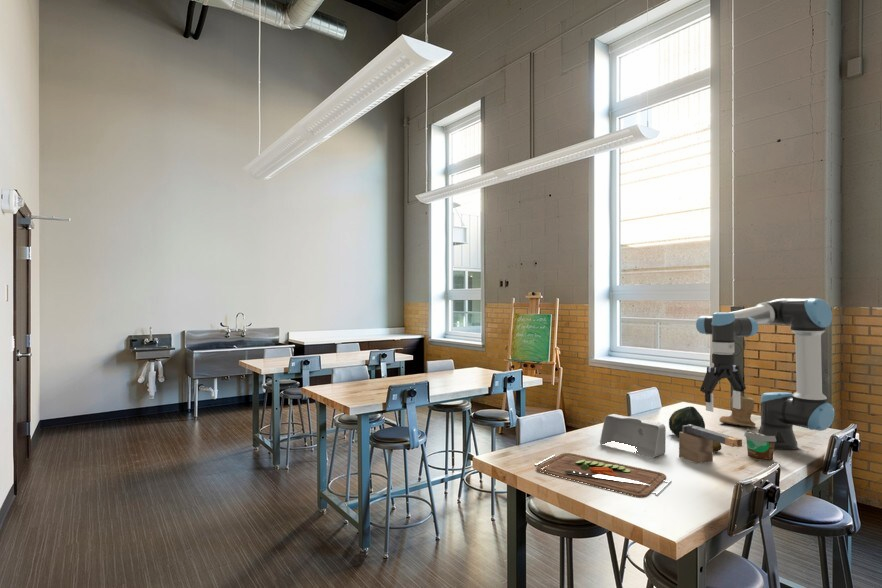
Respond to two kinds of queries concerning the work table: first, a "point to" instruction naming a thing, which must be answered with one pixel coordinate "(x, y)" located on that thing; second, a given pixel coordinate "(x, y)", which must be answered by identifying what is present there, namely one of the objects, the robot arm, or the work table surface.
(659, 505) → the work table surface
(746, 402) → the brown upright flared piece
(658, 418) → the work table surface
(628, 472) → the chopping board
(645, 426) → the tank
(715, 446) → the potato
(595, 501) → the work table surface
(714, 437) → the bar
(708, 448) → the tong rest
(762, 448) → the food container
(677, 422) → the squash
